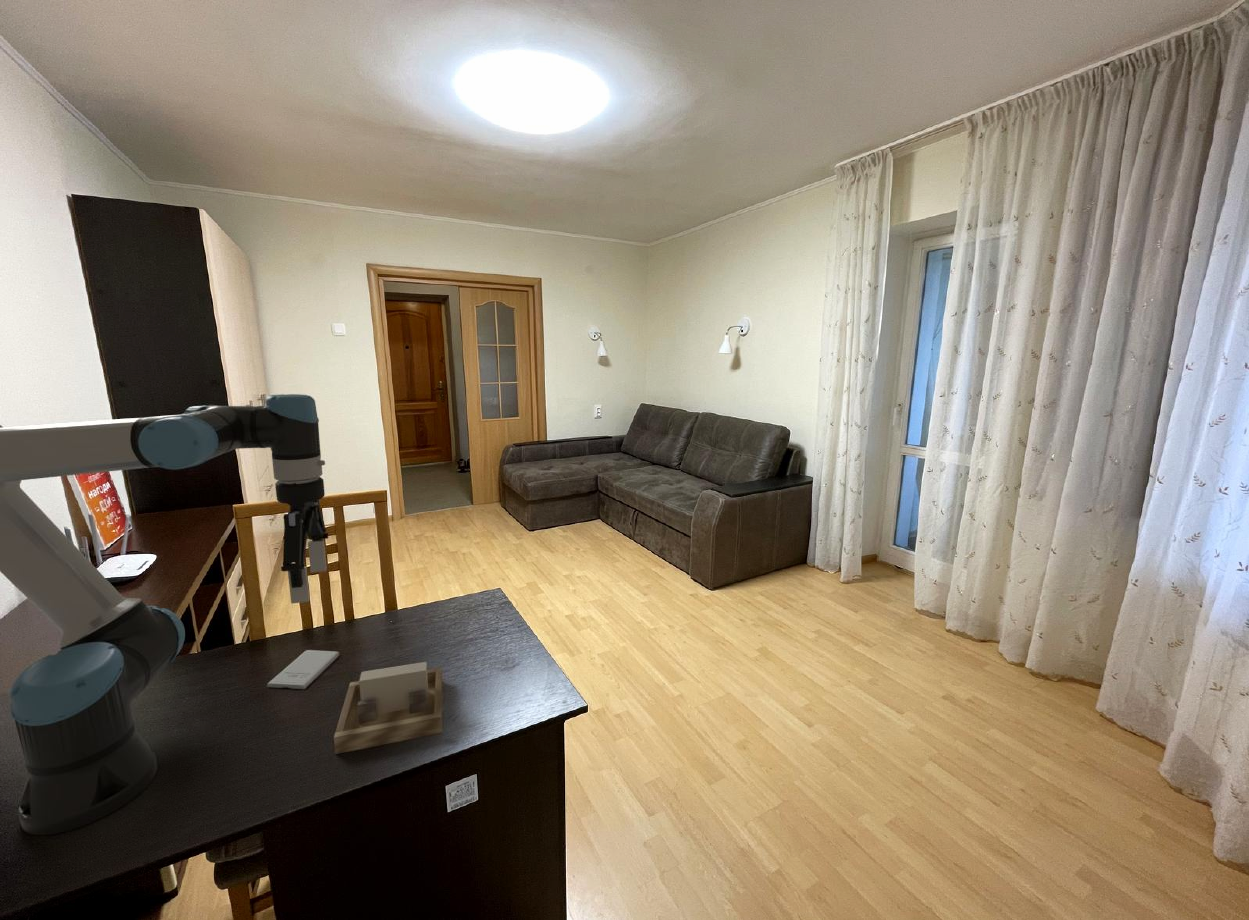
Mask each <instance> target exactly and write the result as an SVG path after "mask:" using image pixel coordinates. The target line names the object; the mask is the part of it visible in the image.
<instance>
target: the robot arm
mask: <svg viewBox="0 0 1249 920" xmlns="http://www.w3.org/2000/svg"><path fill="white" fill-rule="evenodd" d="M319 422H320V419H319V417H318V412H317V405H316V401H315V399H314V398H313V396H311V395H307V394H299V393H298V394H295V393H294V394H292V393H289V394H284V393H281V394H271V395H268V396H267V397H266V398H265V404H264V405H257V406H252V405H251V406H249V405H248V406H247V405H246V406H245V405H216V404H208V405H196V406H195V405H194V406H189V407H188V408H186V409H185V411H184V413H182V414H172V415H160V416H159V415H158V416H148V417H147V416H146V417H134V418H120V419H108V420H106V419H105V420H93V421H91V420H90V421H80V422H79V421H78V422H67V423H52V424H40V425H25V426H12V427H11V426H10V427H8V426H7V427H4V426H3V425H1V424H0V573H1V574H2V575H3V576H4V577H6V579H7V580H8V581H9V582H11V584H12V585H14V587H15V588H16V589H17V590H18V591H20V592H21V594H23V596H25V597H26V598H27V599H28V600H29V601H30V602H31V603H32V604H33V605H34V606H35V607H36V608H37V609H38V610H39V611H40V612H41V613H42V614H43V615H44V616H45V617H46V618H47V619H48V620H49V621H50V623H52V624H53V625H55V627H56V628H57V629H58V630H59V631H60V632H61V636H60V639H59V641H58V645H57V647H58V648H59V649H60V650H58V651H57V653H56V654H50V655H47V656H44V657H43V658H41V659H39V660H37V661H35V662H34V663H32V664H31V665H29V666H28V667H27V668H25V669H24V670H23V671H22V672H21V673H20V674H19V675H18V676H17V677H16V679H14V682H13V683H12V685H11V688H10V692H9V693H10V694H9V695H10V696H9V697H10V713H11V716H12V718H13V719H14V722H15V726H16V729H17V731H16V732H17V734H18V738H19V742H20V746H21V749H22V753H23V756H24V757H23V759H24V761H25V765H26V770H27V777H26V780H25V784H24V788H23V791H22V795H21V799H20V803H19V806H18V817H19V822H20V825H21V829H22V830H23V831H24V832H25V833H28V834H30V835H35V836H51V835H56V834H61V833H66V832H69V831H72V830H76V829H78V828H81V827H84V826H87V825H90V824H91V823H94V822H96V821H98V820H100V819H103V818H105V817H106V816H108V815H110V814H112V813H113V812H115V811H117V810H119V809H120V808H122V807H123V806H125V805H126V804H128V803H129V802H131V801H132V800H133V799H135V798H136V797H137V796H138V795H140V794H141V793H142V792H143V791H144V790H145V789H146V788H147V787H148V786H149V785H150V783H151V782H152V780H153V779H154V777H155V775H156V774H157V771H158V764H157V762H158V761H157V758H156V754H155V751H154V750H153V748H151V747H150V746H149V745H148V744H147V742H146V741H145V740H144V738H142V737H141V735H140V734H139V733H138V732H137V730H136V727H135V722H134V721H135V720H134V716H133V711H132V702H133V701H134V700H135V699H136V698H137V697H138V696H139V695H140V694H141V693H142V692H143V691H145V689H146V688H147V687H148V686H149V685H150V684H151V683H152V682H153V681H154V680H155V679H156V678H157V677H158V676H159V675H160V674H161V673H162V672H164V670H166V669H167V668H168V667H169V666H170V665H171V664H172V663H173V661H174V660H175V658H176V656H177V655H179V653H180V651H181V650H182V648H183V646H184V642H185V639H186V631H185V626H184V623H183V622H182V621H181V618H179V617H178V616H177V614H176V613H174V612H173V611H171V610H170V609H167V608H164V607H163V608H159V606H155V605H153V606H151V605H150V606H148V605H147V604H146V603H145V602H144V601H143V600H142V599H141V598H138V597H137V598H135V597H125V596H123V595H122V594H121V593H120V592H119V591H118V590H117V589H116V588H115V587H114V586H113V585H112V583H111V582H109V581H108V579H107V578H106V576H104V575H103V574H102V573H101V572H100V571H99V570H98V569H97V568H96V567H95V565H94V564H93V563H92V562H91V561H90V560H89V559H88V558H87V557H86V556H85V555H84V554H83V553H82V552H81V551H80V549H78V548H77V546H76V545H75V544H74V543H73V542H72V541H71V540H70V538H68V537H67V536H66V535H65V533H64V532H62V531H61V529H60V528H59V527H58V526H57V525H56V524H55V523H54V521H52V520H51V519H50V518H49V517H48V516H47V515H46V513H45V512H44V511H43V510H42V509H41V508H40V507H39V506H38V505H37V504H36V503H35V502H34V501H33V499H32V498H30V496H29V495H28V494H27V493H26V492H25V491H24V490H23V489H22V488H21V485H20V484H21V483H22V481H28V480H37V479H38V480H39V479H46V478H57V477H68V476H76V475H78V476H79V475H87V474H89V475H90V474H98V473H106V472H118V471H127V470H136V469H138V470H139V469H145V468H147V469H149V468H162V469H165V470H181V469H187V468H192V467H196V466H200V465H202V464H203V463H205V462H207V461H209V460H211V459H214V458H216V457H218V456H221V455H224V454H226V453H229V452H231V451H234V450H240V449H243V450H244V449H267V448H268V449H269V448H270V451H271V458H272V459H271V461H272V468H273V472H272V473H273V478H274V480H276V482H275V483H274V485H275V486H274V487H275V495H276V501H277V502H279V503H280V504H283V505H284V504H286V505H289V511H288V512H287V513H284V514H283V524H284V525H283V527H284V528H283V529H284V532H283V555H282V566H281V568H280V569H281V572H287V575H288V576H287V577H288V585H289V586H288V587H289V596H290V602H291V603H290V604H291V605H292V604H298V603H299V604H300V603H309V601H310V599H311V598H310V590H309V579H308V578H309V577H308V570H307V568H308V567H307V566H305V562H306V561H305V560H306V551H307V548H308V555H309V556H308V559H309V568H310V573H320V572H326V571H327V557H326V548H325V546H326V545H325V540H326V539H327V540H328V539H329V533H328V532H326V531H327V528H326V526H325V525H326V524H325V520H324V517H323V514H322V508H321V506H320V500H322V499H323V498H324V497H325V495H326V494H325V483H324V479H323V478H322V477H321V476H322V475H323V467H322V466H325V465H326V461H325V460H324V459H322V454H321V453H322V452H321V444H320V443H321V442H320V441H321V440H320V427H319ZM308 539H309V541H307V540H308Z"/></svg>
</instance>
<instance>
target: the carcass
mask: <svg viewBox="0 0 1249 920" xmlns="http://www.w3.org/2000/svg"><path fill="white" fill-rule="evenodd" d="M427 680H428V705H426V698H425V690H423V691H417V692H412V693H409V709H404V710H399V711H394V712H388V713H383V714H377V711H376V699H371V700H366V701H361V696H360V685H359V680H358V681H352V682H351V681H350V682H349V684H348V689H347V692H346V695H345V698H344V703H343V704H342V705H343V706H342V708H341V711H340V716H339V719H338V722H337V726H336V729H335V732H334V735H333V742H334V753H335V755H339V754H342V753H348V752H354V751H357V750H364V749H368V748H372V747H377V746H383V745H387V744H393V743H398V742H403V741H407V740H412V739H417V738H422V737H423V738H424V737H428V736H432V735H433V736H434V735H437V734H442V730H443V729H442V724H443V721H442V720H443V719H442V718H443V716H442V715H443V667H438V668H431V669H427Z"/></svg>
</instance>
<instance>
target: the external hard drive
mask: <svg viewBox="0 0 1249 920" xmlns="http://www.w3.org/2000/svg"><path fill="white" fill-rule="evenodd" d="M339 656H340V652H339V651H334V650H333V651H331V650H316V649H315V650H313V649H307V650H304V652H302V653H301V654H300V655H299V656H298V657H297V658H295V659H294V660H293V661H292V662H291V663H290V664H289V665H287V666H286V667H285V668H284V669H283V670H281V672H279V673H278V674H277V675H276V676H275V677H273V678H272V679H271V680H270V681H269V682H268V683H267V686H266V687H267V688H277V689H279V688H280V689H283V688H288V689H296V690H305V689H306V688H308V687H309V685H310V684H312V683H313V681H314V680H315V679H317V678H318V677H319V676H321V674H322V673H323V672H324V671H326V669H327V668H328V667H329V666H330V665H331V664H332V663H333V662H335V660H336V659H337V658H339Z"/></svg>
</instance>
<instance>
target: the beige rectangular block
mask: <svg viewBox="0 0 1249 920" xmlns="http://www.w3.org/2000/svg"><path fill="white" fill-rule="evenodd" d="M427 663H428V662H427V661H423V662H415V663H410V664H404V665H398V666H391V667H385V668H378V669H372V670H366V671H361V673H360V676H359V680H358V681H359V685H360V696H361V701H366V700H371V699H376V711H377V714H383V713H388V712H394V711H399V710H404V709H409V693H412V692H417V691H423V690H425V698H426V705H428V680H427V670H428V667H427V666H428V664H427Z"/></svg>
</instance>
